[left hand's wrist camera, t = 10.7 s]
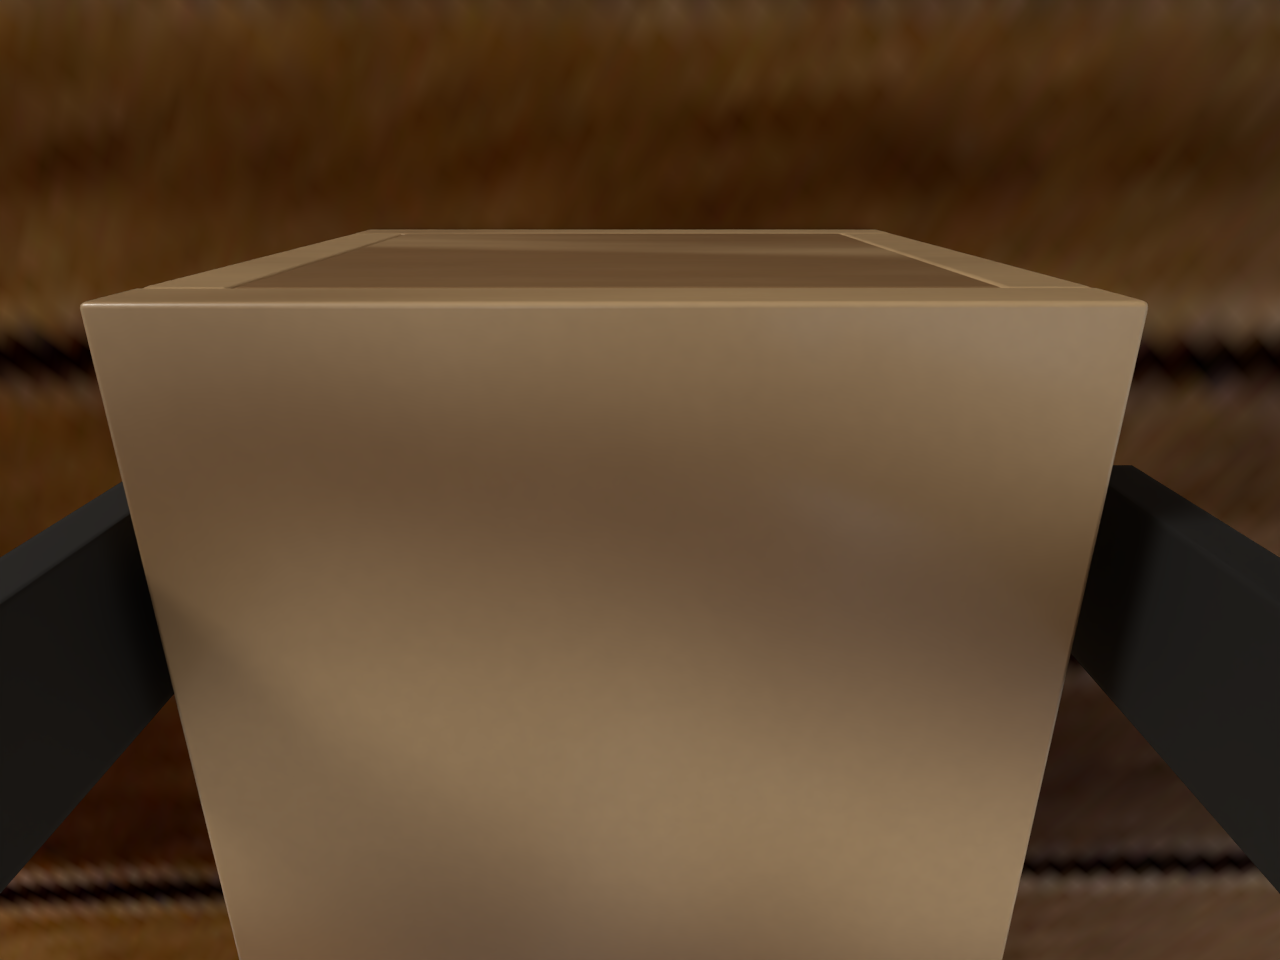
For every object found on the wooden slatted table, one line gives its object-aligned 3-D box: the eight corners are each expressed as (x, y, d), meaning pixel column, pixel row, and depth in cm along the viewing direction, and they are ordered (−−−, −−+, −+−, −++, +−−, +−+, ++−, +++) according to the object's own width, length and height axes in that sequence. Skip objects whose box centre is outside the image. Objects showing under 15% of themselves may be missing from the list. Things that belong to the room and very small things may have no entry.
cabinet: (807, 924, 26) (911, 1371, 16) (448, 928, 26) (340, 1380, 16) (877, 229, 18) (1153, 300, 9) (368, 229, 18) (76, 302, 9)
